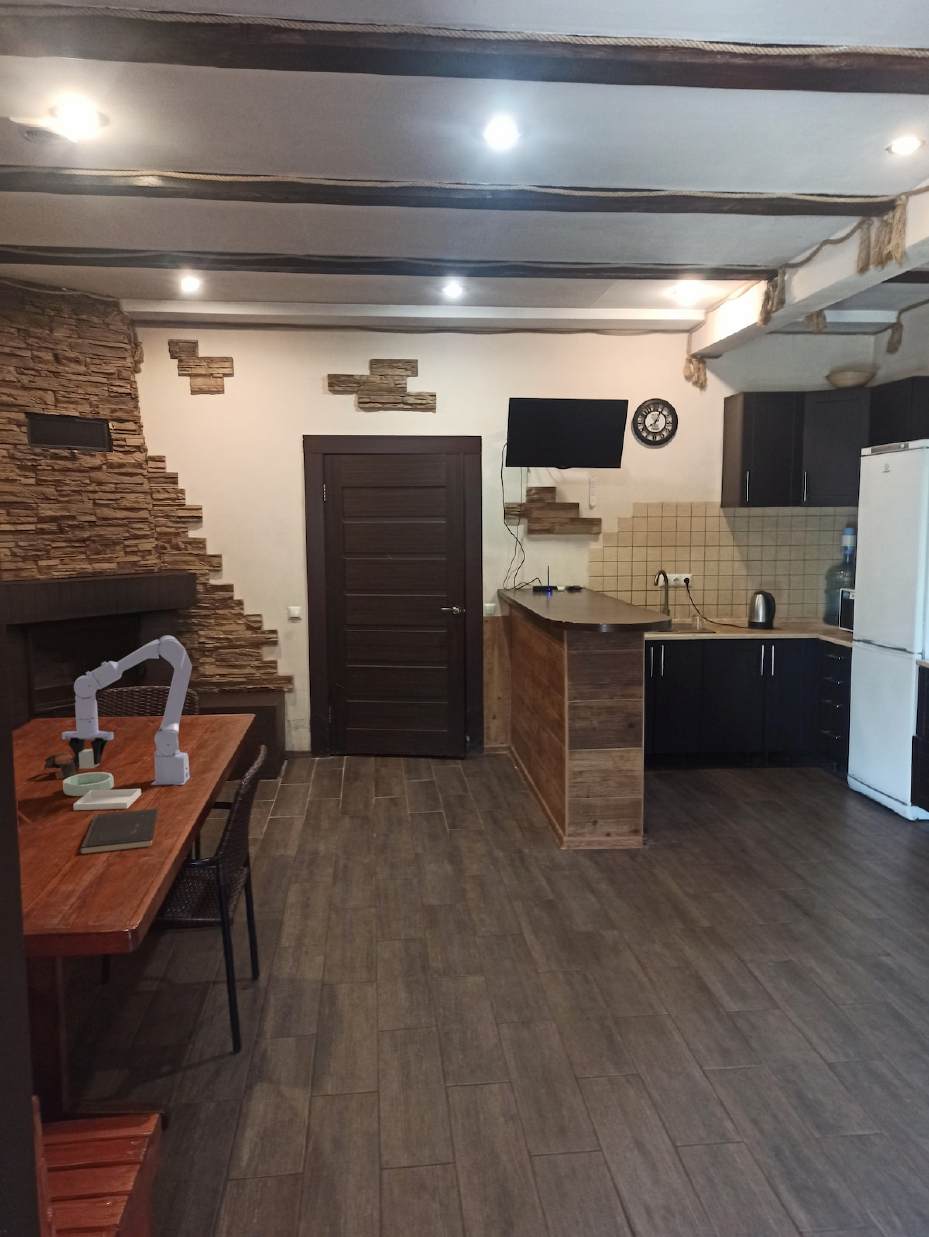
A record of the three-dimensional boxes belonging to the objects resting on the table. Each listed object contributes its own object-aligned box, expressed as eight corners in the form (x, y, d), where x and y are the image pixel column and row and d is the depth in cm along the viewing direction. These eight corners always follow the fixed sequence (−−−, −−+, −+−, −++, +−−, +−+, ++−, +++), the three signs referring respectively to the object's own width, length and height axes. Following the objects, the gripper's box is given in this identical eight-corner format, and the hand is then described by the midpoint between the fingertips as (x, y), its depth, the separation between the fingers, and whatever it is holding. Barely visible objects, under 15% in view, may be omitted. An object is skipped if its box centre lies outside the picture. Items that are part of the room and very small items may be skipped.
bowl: (119, 782, 244) (118, 771, 243) (103, 796, 231) (103, 784, 231) (74, 784, 243) (74, 772, 242) (56, 798, 230) (55, 786, 230)
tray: (141, 796, 231) (140, 788, 231) (127, 810, 219) (126, 802, 219) (90, 797, 230) (90, 790, 230) (73, 812, 218) (73, 804, 218)
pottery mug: (46, 783, 246) (39, 758, 248) (52, 788, 254) (45, 764, 256) (88, 768, 250) (80, 744, 252) (93, 774, 259) (85, 750, 261)
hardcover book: (158, 816, 216) (158, 808, 216) (152, 848, 194) (152, 839, 194) (93, 823, 212) (93, 814, 211) (79, 856, 190) (79, 847, 189)
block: (93, 768, 233) (93, 752, 232) (79, 768, 233) (78, 752, 232) (99, 764, 237) (98, 748, 236) (85, 764, 237) (84, 749, 236)
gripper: (118, 714, 237) (120, 760, 238) (70, 714, 238) (73, 759, 239) (105, 720, 230) (107, 767, 231) (56, 719, 231) (59, 766, 232)
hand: (89, 763), depth 235 cm, fingers closed on block, 4 cm apart
